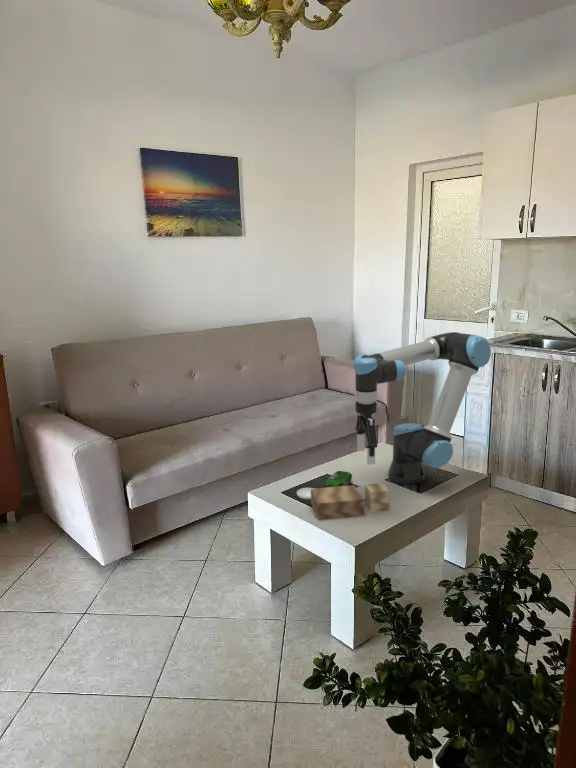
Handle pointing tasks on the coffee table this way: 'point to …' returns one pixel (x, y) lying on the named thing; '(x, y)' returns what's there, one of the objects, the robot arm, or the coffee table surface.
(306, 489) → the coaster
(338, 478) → the green toy car
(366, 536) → the coffee table surface
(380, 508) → the oak block
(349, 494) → the walnut box
